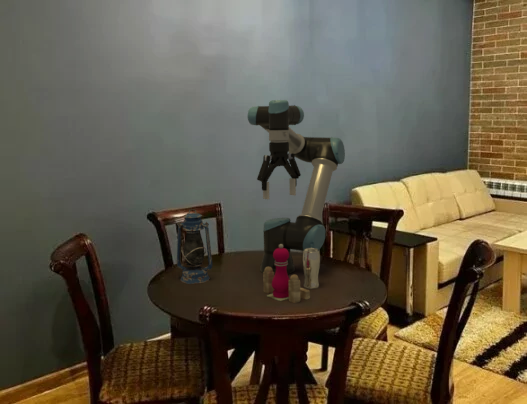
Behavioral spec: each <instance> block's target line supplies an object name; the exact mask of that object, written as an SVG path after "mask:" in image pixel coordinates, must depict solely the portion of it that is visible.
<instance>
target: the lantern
mask: <svg viewBox="0 0 527 404" xmlns="http://www.w3.org/2000/svg"><path fill="white" fill-rule="evenodd" d="M191 211H194V212H193V213H191ZM202 217H203V214H201V213H198V212H197V210H196V209H193V208H191V209H189V210H188V212H187V213H186V214H185V215H183V218H184V220H183V222H182V221H181V222H180V221H178V222H177V224H176V225H177V244H176V245H177V249H176V265H177V268H178V269H180V270H182V275H181V277H180V282H181V283H183V284H188V285H196V284H197V285H200V284H204V283H207V282H209V281H210V280H211V279H210V276H209V274H208V271H210V270H212V268H213V257H212V256H213V255H212V248H211V238H210V230H209V223H208V221H206V222H205V223H204V222H203V220H202ZM202 230H204V231H205V232H204V233H205V242H206V247H205V246H204V245H205V244H204V241H203V238H202V234H201V231H202ZM182 231H186V235H185V240H184V244H182ZM206 254H207V262H208V263H207V266H206V267H203V266H202V265H203V262H204V260H205V255H206ZM182 256H183V262H184V263H185V264H186V266H185V265H183V264H182V261H181V260H182ZM209 279H210V280H209Z"/></svg>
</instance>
